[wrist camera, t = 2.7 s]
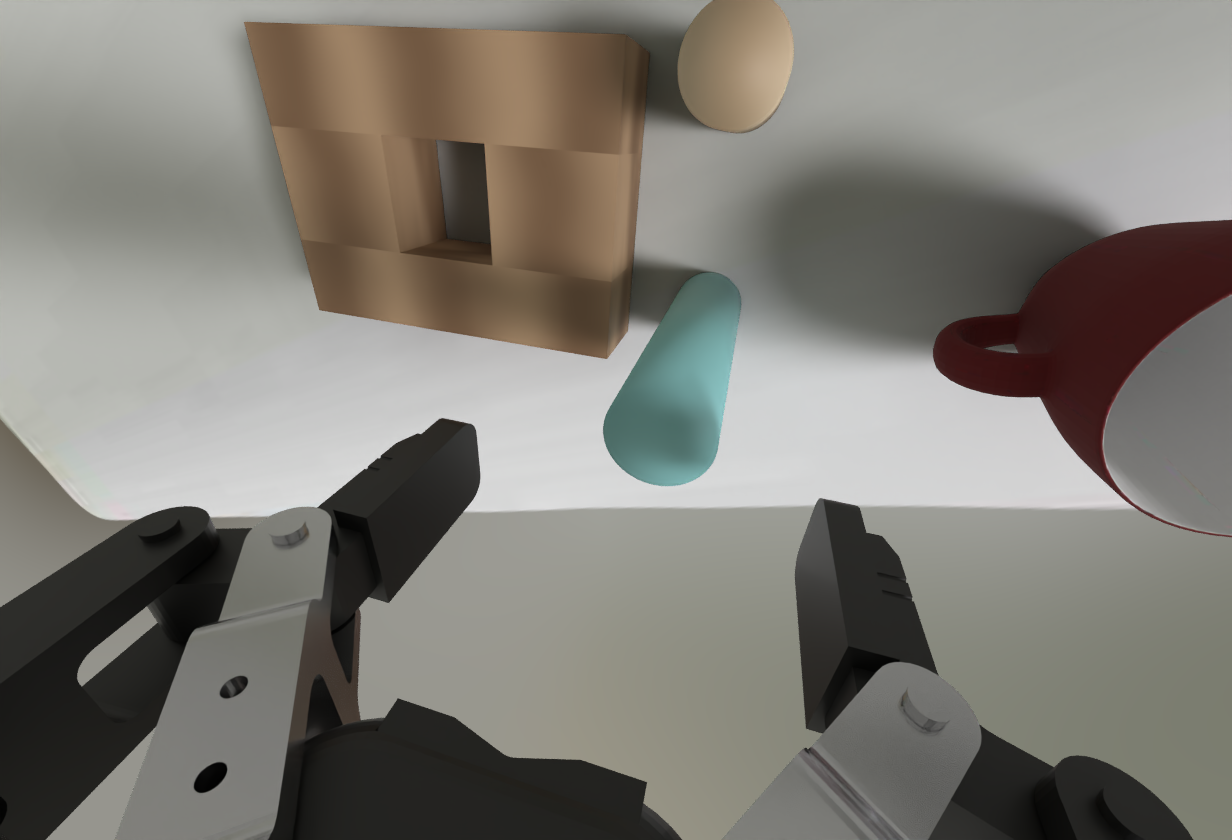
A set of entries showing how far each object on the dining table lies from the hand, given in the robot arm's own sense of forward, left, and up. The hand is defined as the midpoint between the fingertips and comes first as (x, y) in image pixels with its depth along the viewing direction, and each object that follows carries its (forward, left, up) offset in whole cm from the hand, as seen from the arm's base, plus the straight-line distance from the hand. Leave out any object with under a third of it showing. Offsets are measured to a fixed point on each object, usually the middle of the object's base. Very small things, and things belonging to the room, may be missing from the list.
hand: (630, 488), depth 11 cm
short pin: (0, -9, -15) cm, 18 cm away
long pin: (0, 0, -15) cm, 15 cm away
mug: (-14, -2, -16) cm, 21 cm away
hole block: (+12, -4, -15) cm, 20 cm away
